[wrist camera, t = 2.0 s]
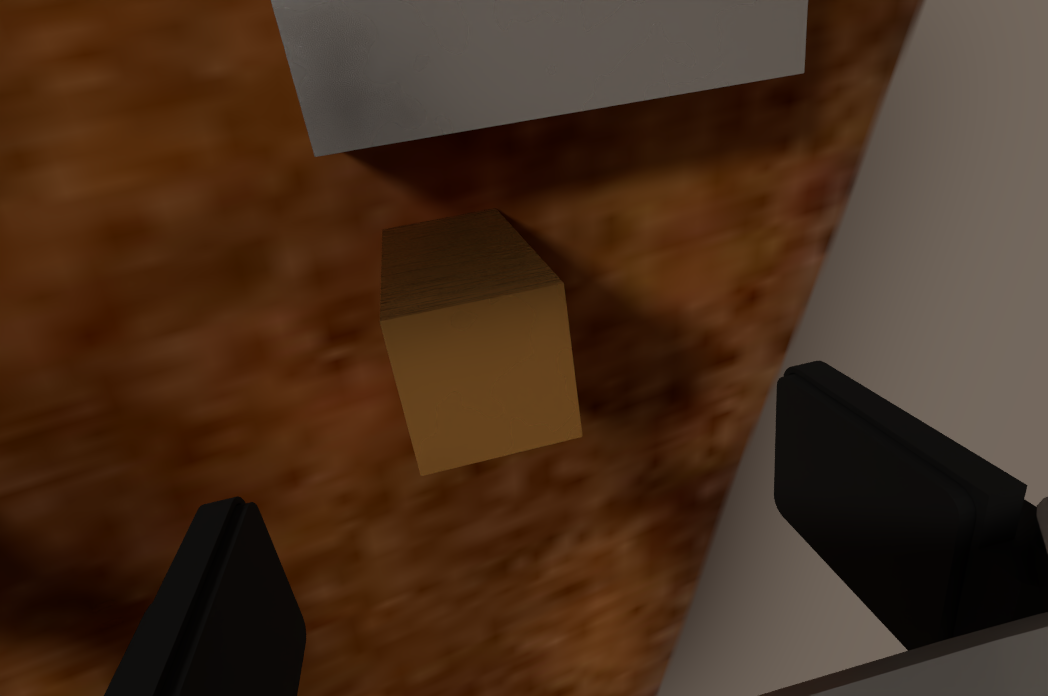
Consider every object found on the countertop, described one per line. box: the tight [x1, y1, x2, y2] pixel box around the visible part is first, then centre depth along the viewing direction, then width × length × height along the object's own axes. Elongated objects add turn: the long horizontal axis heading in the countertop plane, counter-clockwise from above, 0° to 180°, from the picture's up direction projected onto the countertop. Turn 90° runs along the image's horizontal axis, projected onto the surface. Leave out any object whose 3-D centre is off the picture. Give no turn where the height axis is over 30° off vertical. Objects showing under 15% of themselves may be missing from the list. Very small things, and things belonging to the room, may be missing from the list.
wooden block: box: [380, 208, 582, 476], centre depth 18 cm, size 4×4×9 cm
